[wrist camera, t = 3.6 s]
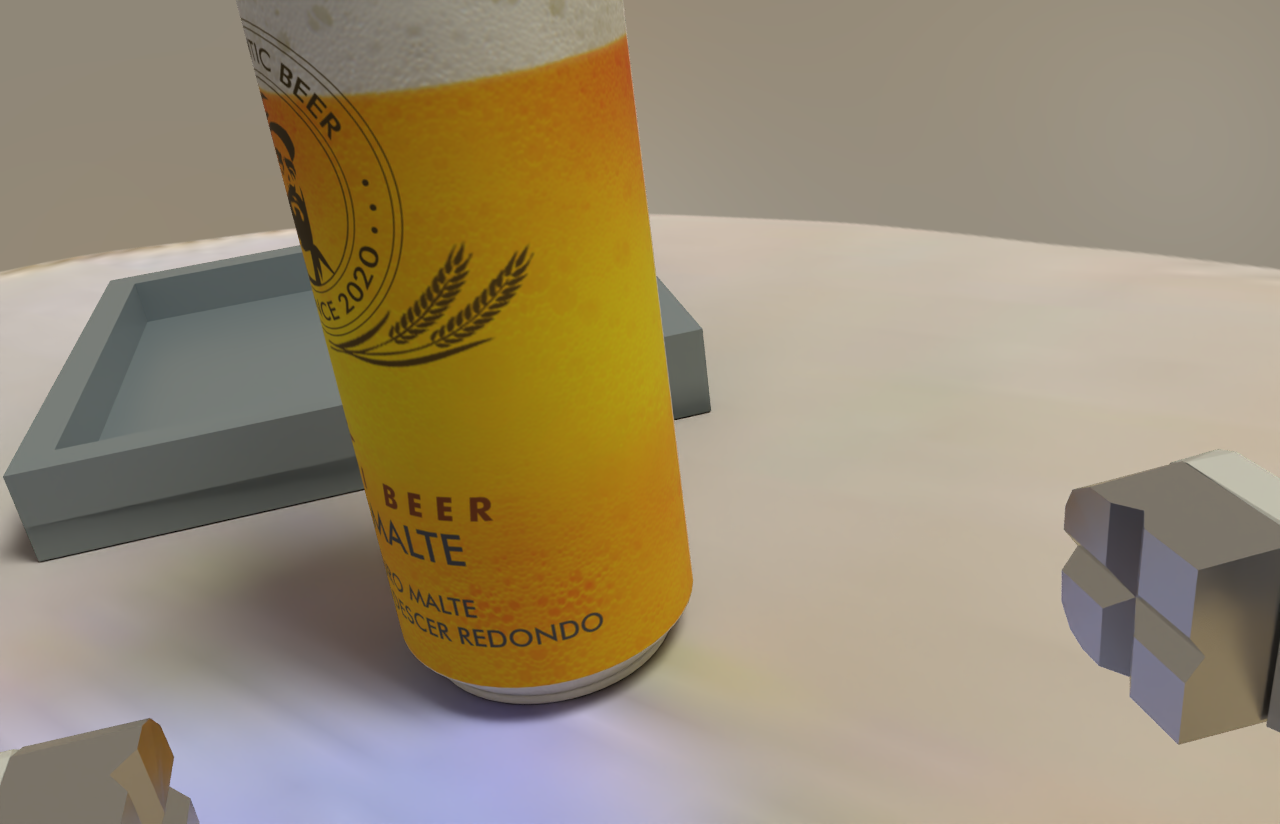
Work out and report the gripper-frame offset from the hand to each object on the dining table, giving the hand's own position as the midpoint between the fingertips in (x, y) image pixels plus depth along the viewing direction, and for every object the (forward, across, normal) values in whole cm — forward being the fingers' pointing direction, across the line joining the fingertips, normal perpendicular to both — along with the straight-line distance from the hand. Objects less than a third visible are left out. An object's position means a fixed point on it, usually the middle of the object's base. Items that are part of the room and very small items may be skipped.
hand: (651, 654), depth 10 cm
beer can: (+12, 0, +8) cm, 15 cm away
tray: (+28, +3, +8) cm, 29 cm away
